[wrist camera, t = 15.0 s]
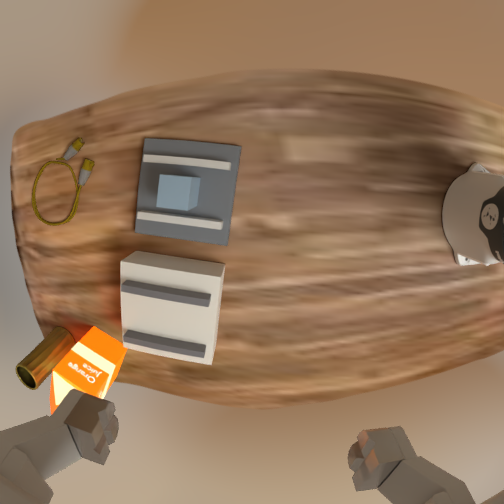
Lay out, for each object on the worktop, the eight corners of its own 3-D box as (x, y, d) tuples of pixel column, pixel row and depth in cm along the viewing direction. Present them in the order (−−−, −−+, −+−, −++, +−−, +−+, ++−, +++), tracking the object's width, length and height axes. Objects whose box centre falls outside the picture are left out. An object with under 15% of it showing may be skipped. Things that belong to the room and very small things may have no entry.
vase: (54, 346, 48) (18, 383, 34) (51, 322, 46) (10, 357, 32) (77, 356, 48) (42, 397, 34) (74, 331, 46) (34, 371, 33)
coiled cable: (108, 203, 41) (102, 204, 39) (44, 234, 42) (37, 236, 40) (90, 134, 38) (83, 132, 36) (28, 172, 40) (21, 173, 38)
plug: (200, 177, 39) (191, 177, 33) (197, 206, 40) (187, 210, 34) (173, 174, 39) (159, 174, 33) (169, 202, 40) (156, 206, 34)
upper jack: (225, 263, 43) (219, 282, 35) (215, 344, 46) (209, 372, 38) (136, 250, 42) (114, 265, 35) (136, 329, 46) (118, 353, 38)
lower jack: (241, 147, 39) (240, 144, 36) (227, 244, 42) (225, 249, 39) (147, 139, 38) (140, 136, 35) (137, 231, 42) (129, 235, 39)
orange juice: (128, 347, 47) (80, 421, 27) (117, 376, 49) (74, 447, 29) (93, 325, 46) (33, 388, 26) (84, 356, 48) (33, 419, 28)
